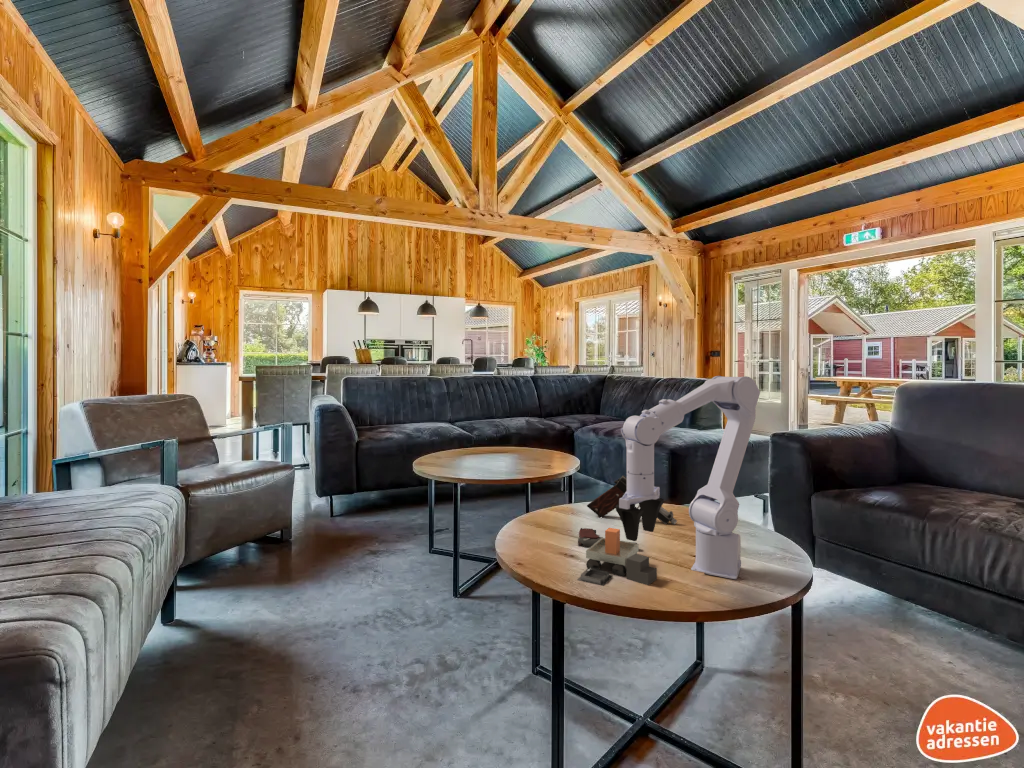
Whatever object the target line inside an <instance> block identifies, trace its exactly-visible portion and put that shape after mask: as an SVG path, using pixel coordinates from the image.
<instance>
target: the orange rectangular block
mask: <svg viewBox="0 0 1024 768" xmlns="http://www.w3.org/2000/svg"><path fill="white" fill-rule="evenodd" d="M604 531H605V532H604V538H605V553H611V554H617V553H618V552H619V551H620V541H621V529H619V528H615V527H608V528H607V529H606V530H604Z"/></svg>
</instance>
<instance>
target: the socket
mask: <svg viewBox="0 0 1024 768" xmlns="http://www.w3.org/2000/svg"><path fill="white" fill-rule="evenodd" d="M613 576H614V574H610V572H609V571H605V570H601V569H599V570H597V569H592V568H590V569H587V568H586V569H585V570H584V571H583V572H582V573H580V576H579V577H578V578H577V579H576V581H579V582H583V583H589V584H593V585H596V586H597V585H598V586H603V587H604V586H605V585H607V583H608V582H609V581H610V580H611V579H612V578H613Z"/></svg>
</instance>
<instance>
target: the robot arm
mask: <svg viewBox="0 0 1024 768" xmlns="http://www.w3.org/2000/svg"><path fill="white" fill-rule="evenodd" d="M760 395H761V391H760V389H759V387H758V385H757V383H756V381H755V380H754V379H753V378H752V377H750V376H746V375H745V376H721V375H716V376H713V377H712V378H710V379H707V380H705V381H704V383H703V384H701V385H699V386H698V387H696V388H694V389H693V390H692V391H690V392H688V393H687V394H685V395H683V396H682V397H681V398H678V399H677V400H673V399H666V398H665V399H664V398H662V399H660V400H659V401H658V404H657V405H655V406H653V407H651V408H650V409H643V410H642V411H641V414H640V415H631V416H629V417H627V418H626V419H625V422H624V423H623V426H622V427H621V428H620V433H621V435H622V436H621V437H622V438H623V439H624V440H625V441H624V442H625V447H626V478H627V491H626V492H625V494H624V495H623V497H622V498H620V499H619V504H618V505H616V508H615V511H616V512H617V514H618V516H619V518H620V520H621V523H622V527H623V530H624V534H625V538H626V540H627V541H633V542H636V541H637V540H638V538H639V537H638V536H639V531H640V530H639V529H640V522H641V525H642V530H643V531H645V532H651V533H653V532H654V530H655V527H656V523H657V519H658V518H657V516H658V513H659V510H660V508H661V506H662V507H663V504H664V502H665V501H664V500H665V499H664V498H662V497H660V496H661V495H660V494H661V493H660V490H661V489H660V486H655V444H656V443H657V442H658V440H660V439H659V438H660V436H661V434H663V433H665V432H667V431H668V430H669V431H670V430H671V429H672V428H674V427H676V426H678V425H679V424H681V423H683V421H684V418H685V415H686V414H689V413H690V412H692V411H694V410H697V409H699V408H701V407H703V406H705V405H708V404H709V403H711V402H712V403H713V404H714V405H715V406H717V408H718V409H719V410H720V411H721V412H722V413H723V415H724V416H725V418H726V420H727V421H726V425H725V427H724V431H723V433H722V437H721V440H720V444H719V447H718V449H717V453H716V456H715V460H714V463H713V466H712V469H711V472H710V475H709V478H708V482H707V484H706V485H704V486H703V487H701V488H699V489H698V490H697V492H696V494H695V497H694V498H693V500H692V501H691V502H690V504H689V507H688V516H689V518H690V519H691V520H692V522H693V527H695V561H694V563H693V565H692V566H691V568H690V570H691V571H695V572H699V573H704V575H705V574H706V575H709V576H717V577H721V578H727V579H731V580H737V579H738V576H739V573H740V571H741V568H742V560H741V558H742V557H741V554H742V553H741V549H742V548H741V547H742V546H741V545H742V544H741V535H740V534H739V533H735V532H733V531H734V530H735V529H736V527H737V525H738V522H739V514H738V513H739V512H738V511H739V508H740V503H739V501H738V499H737V497H736V496H735V495H734V489H735V487H736V482H737V480H738V476H739V472H740V470H741V467H742V463H743V460H744V458H745V454H746V452H747V451H746V450H747V447H748V444H749V442H750V441H749V440H750V438H751V435H752V432H753V428H754V424H755V422H756V411H757V410H756V409H757V404H758V401H759V398H760ZM716 500H717V501H716ZM636 505H638V506H640V507H639V508H638V509H637V507H638V506H636Z"/></svg>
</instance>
